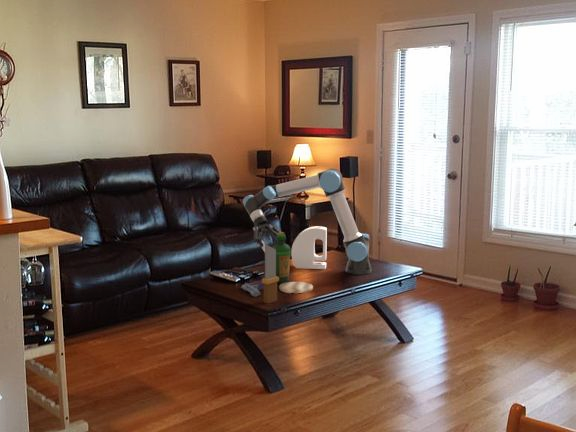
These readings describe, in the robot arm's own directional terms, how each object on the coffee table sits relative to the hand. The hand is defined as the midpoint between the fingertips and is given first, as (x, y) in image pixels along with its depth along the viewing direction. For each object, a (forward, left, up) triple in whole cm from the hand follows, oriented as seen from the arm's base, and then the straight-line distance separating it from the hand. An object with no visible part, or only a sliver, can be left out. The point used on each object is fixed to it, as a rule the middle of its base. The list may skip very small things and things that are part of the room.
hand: (275, 249), depth 369 cm
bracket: (-20, -29, -18) cm, 40 cm away
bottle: (-3, +3, -18) cm, 18 cm away
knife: (+2, +40, -18) cm, 44 cm away
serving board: (-11, +18, -18) cm, 27 cm away
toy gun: (+9, +22, -18) cm, 30 cm away
